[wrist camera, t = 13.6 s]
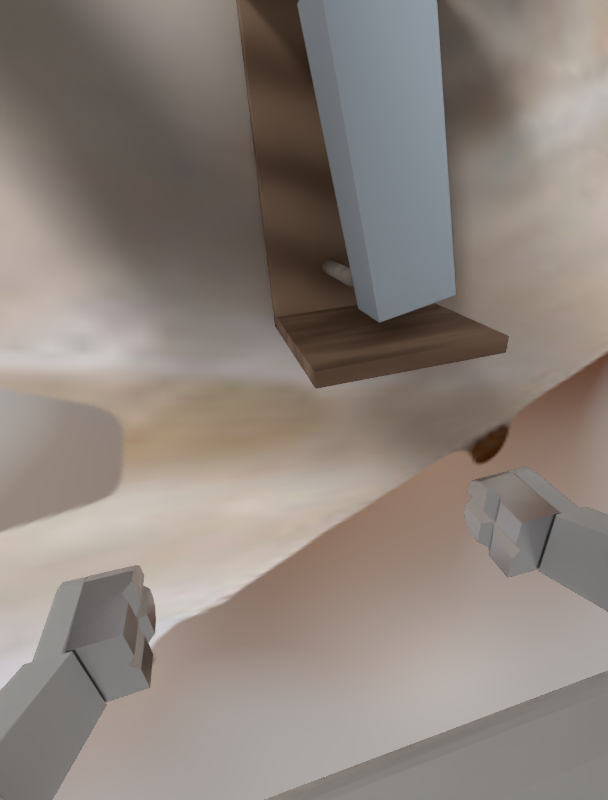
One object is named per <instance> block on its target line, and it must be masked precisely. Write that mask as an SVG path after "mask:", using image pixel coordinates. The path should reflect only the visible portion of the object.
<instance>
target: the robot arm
mask: <svg viewBox="0 0 608 800" xmlns="http://www.w3.org/2000/svg"><path fill="white" fill-rule="evenodd" d="M468 494H469V495H470V496H471V497H472V498H471V499H470V500H469V502H468V503H467V504H466V505H465V514H464V517H465V520H466V524H467V527H468V529H469V530H470V533H471V534H472V535H473V537H474V538H475V539H476V540H477V542H479V543H481V544H483V545H485V546H488V547H489V556H490V557H491V558H492V560H493V561H494V562H495V563H496V564H497V566H498V567H499V568H500V569H501V570H502V572H503V573H504V574H505V575H506V576H507V577H512V576H516V575H519V574H522V573H526V572H530V571H534V570H537V569H539V572H541V573H543V574H544V575H546V576H548V577H550V578H551V579H553V580H555V581H556V582H558V583H560V584H561V585H563V586H565V587H567V588H568V589H570V590H572V591H573V592H575V593H577V594H579V595H580V596H582V597H584V598H586V599H587V600H589V601H591V602H593V603H594V604H596V605H597V606H599V607H601V608H603V609H604V610H606V611H608V514H605V513H602V512H599V511H596V510H594V509H591V508H588V507H582V508H580V507H578V506H577V505H576V504H574V503H573V502H572V501H571V500H569V499H568V498H567V497H566V496H564V495H563V494H562V493H561V492H559V491H558V490H557V489H556V488H554V487H553V486H552V485H551V484H549V483H548V482H547V481H546V480H544V479H543V478H542V477H540V476H539V475H538V474H537V473H536V472H534V471H533V470H532V469H530V468H527V467H522V468H518V469H514V470H510V471H507V472H502V473H498V474H495V475H491V476H487V477H483V478H479V479H476V480H472V481H471V483H470V484H469V486H468ZM143 581H144V574H143V572H142V570H141V568H140V566H138V565H135V566H131V567H127V568H122V569H118V570H113V571H109V572H104V573H100V574H96V575H91V576H88V577H84V578H80V579H75V580H71V581H67V582H63V583H62V584H61V586H60V587H59V588H58V589H57V592H56V594H55V597H54V600H53V603H52V606H51V609H50V612H49V615H48V618H47V620H46V623H45V626H44V629H43V632H42V635H41V638H40V641H39V644H38V646H37V649H36V652H35V655H34V658H33V661H32V662H31V663H28V664H24V665H23V666H22V667H21V668H20V669H19V670H18V672H17V673H16V674H15V675H14V676H13V677H12V678H11V679H10V680H9V682H8V683H7V684H6V685H5V686H4V687H3V688H2V689H1V691H0V800H52V799H53V798H54V796H55V794H56V793H57V791H58V789H59V787H60V786H61V784H62V782H63V780H64V779H65V777H66V775H67V773H68V772H69V770H70V768H71V766H72V764H73V763H74V761H75V759H76V758H77V756H78V754H79V752H80V751H81V749H82V747H83V745H84V744H85V742H86V740H87V738H88V737H89V735H90V733H91V731H92V730H93V728H94V726H95V724H96V723H97V721H98V719H99V717H100V716H101V714H102V712H103V710H104V709H105V707H106V702H109V701H112V700H115V699H118V698H120V697H124V696H127V695H129V694H132V693H135V692H138V691H141V690H144V689H147V688H150V683H151V671H152V661H153V653H152V651H151V648H150V646H149V644H148V643H149V641H150V640H151V638H152V637H153V635H154V634H155V624H156V616H155V604H154V600H153V596H152V593H151V591H150V589H149V588H147V587H145V586H143ZM265 800H608V671H605V672H603V673H600V674H597V675H595V676H592V677H589V678H587V679H584V680H581V681H579V682H576V683H573V684H571V685H568V686H565V687H563V688H560V689H557V690H555V691H552V692H549V693H547V694H544V695H541V696H539V697H536V698H534V699H531V700H528V701H525V702H523V703H520V704H518V705H515V706H512V707H510V708H507V709H504V710H502V711H499V712H496V713H494V714H491V715H488V716H486V717H483V718H480V719H478V720H475V721H473V722H470V723H467V724H464V725H462V726H459V727H456V728H454V729H451V730H448V731H446V732H443V733H440V734H438V735H435V736H433V737H430V738H427V739H424V740H422V741H419V742H417V743H414V744H412V745H409V746H406V747H403V748H401V749H398V750H395V751H393V752H390V753H387V754H385V755H382V756H379V757H377V758H374V759H371V760H369V761H366V762H363V763H361V764H358V765H355V766H353V767H350V768H347V769H345V770H342V771H339V772H337V773H334V774H331V775H329V776H326V777H324V778H321V779H318V780H316V781H313V782H310V783H308V784H305V785H302V786H300V787H297V788H294V789H292V790H289V791H287V792H284V793H281V794H279V795H276V796H273V797H270V798H268V799H265Z"/></svg>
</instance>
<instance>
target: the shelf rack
mask: <svg viewBox="0 0 608 800" xmlns="http://www.w3.org/2000/svg"><path fill="white" fill-rule="evenodd" d="M236 1H237V10H238V18H239V26H240V35H241V43H242V51H243V60H244V68H245V77H246V85H247V93H248V102H249V110H250V118H251V127H252V135H253V143H254V152H255V160H256V169H257V177H258V185H259V194H260V202H261V210H262V219H263V227H264V236H265V244H266V252H267V261H268V269H269V277H270V286H271V294H272V303H273V311H274V319H275V326H276V328H277V329H278V331H279V333H280V334H281V336H282V337H283V339H284V340H285V342H286V343H287V345H288V346H289V348H290V350H291V351H292V353H293V354H294V356H295V357H296V359H297V360H298V362H299V363H300V365H301V367H302V368H303V370H304V371H305V373H306V374H307V376H308V377H309V379H310V381H311V382H312V384H313V385H314V387H315V388H321V387H326V386H332V385H337V384H342V383H348V382H353V381H358V380H363V379H369V378H374V377H379V376H384V375H390V374H395V373H400V372H405V371H411V370H416V369H421V368H426V367H432V366H437V365H442V364H447V363H453V362H458V361H463V360H469V359H474V358H479V357H484V356H490V355H495V354H500V353H505V352H506V349H507V343H508V338H509V336H507V335H505V334H503V333H500V332H498V331H496V330H494V329H491V328H489V327H487V326H485V325H482V324H480V323H478V322H475V321H473V320H471V319H469V318H466V317H464V316H462V315H460V314H457V313H455V312H453V311H451V310H448V309H446V308H444V307H442V306H439V305H437V304H435V303H432V304H430V305H427V306H424V307H421V308H419V309H416V310H413V311H410V312H407V313H405V314H402V315H399V316H396V317H394V318H391V319H388V320H385V321H383V322H380V323H379V322H377V321H376V320H375V319H373V318H372V317H370V316H369V315H367V314H366V313H364V312H363V311H361V310H360V309H358V305H357V300H356V295H355V290H354V285H353V280H352V275H351V270H350V265H349V260H348V255H347V250H346V245H345V240H344V235H343V230H342V225H341V220H340V215H339V210H338V205H337V200H336V195H335V190H334V185H333V180H332V175H331V170H330V165H329V160H328V155H327V150H326V145H325V140H324V135H323V130H322V125H321V120H320V115H319V110H318V105H317V100H316V95H315V90H314V86H313V81H312V76H311V71H310V66H309V61H308V56H307V51H306V46H305V41H304V36H303V31H302V26H301V21H300V16H299V11H298V6H297V4H298V2H299V0H236Z"/></svg>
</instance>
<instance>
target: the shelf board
mask: <svg viewBox="0 0 608 800" xmlns="http://www.w3.org/2000/svg"><path fill="white" fill-rule="evenodd" d="M297 6H298V11H299V16H300V21H301V26H302V31H303V36H304V41H305V46H306V51H307V56H308V61H309V66H310V71H311V76H312V81H313V86H314V90H315V95H316V100H317V105H318V110H319V115H320V120H321V125H322V130H323V135H324V140H325V145H326V150H327V155H328V160H329V165H330V170H331V175H332V180H333V185H334V190H335V195H336V200H337V205H338V210H339V215H340V220H341V225H342V230H343V235H344V240H345V245H346V250H347V255H348V260H349V265H350V270H351V275H352V280H353V285H354V290H355V295H356V300H357V305H358V309H360V310H361V311H363V312H364V313H366V314H367V315H369V316H370V317H372V318H373V319H375V320H376V321H377V322H379V323H380V322H383V321H385V320H388V319H391V318H394V317H396V316H399V315H402V314H405V313H407V312H410V311H413V310H416V309H419V308H421V307H424V306H427V305H430V304H432V303H435V302H438V301H441V300H443V299H446V298H449V297H452V296H455V295H456V286H455V270H454V255H453V240H452V224H451V209H450V193H449V178H448V163H447V147H446V132H445V116H444V101H443V86H442V70H441V55H440V39H439V24H438V9H437V0H299V2H298V4H297Z"/></svg>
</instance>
